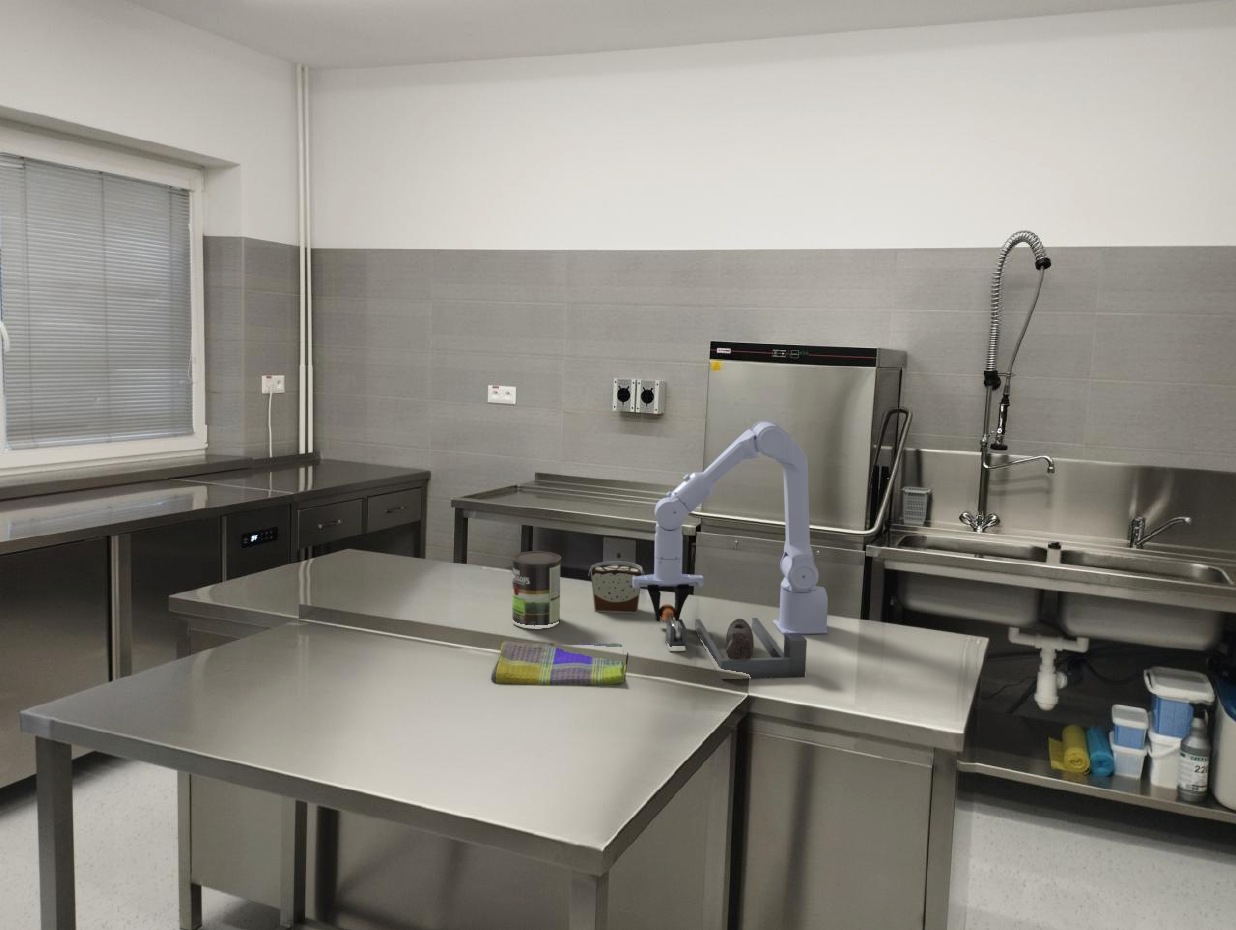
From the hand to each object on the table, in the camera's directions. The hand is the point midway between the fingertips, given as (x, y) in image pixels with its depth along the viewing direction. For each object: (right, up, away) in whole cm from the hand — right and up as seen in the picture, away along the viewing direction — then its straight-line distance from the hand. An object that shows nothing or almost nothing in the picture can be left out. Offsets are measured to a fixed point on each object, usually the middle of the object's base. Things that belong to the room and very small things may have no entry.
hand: (667, 619), depth 197 cm
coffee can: (-27, -1, +3) cm, 28 cm away
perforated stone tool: (+13, -5, -15) cm, 20 cm away
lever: (+1, -1, -6) cm, 6 cm away
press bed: (+11, -4, -14) cm, 18 cm away
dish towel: (-21, -6, -22) cm, 31 cm away
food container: (-10, 0, +13) cm, 17 cm away
